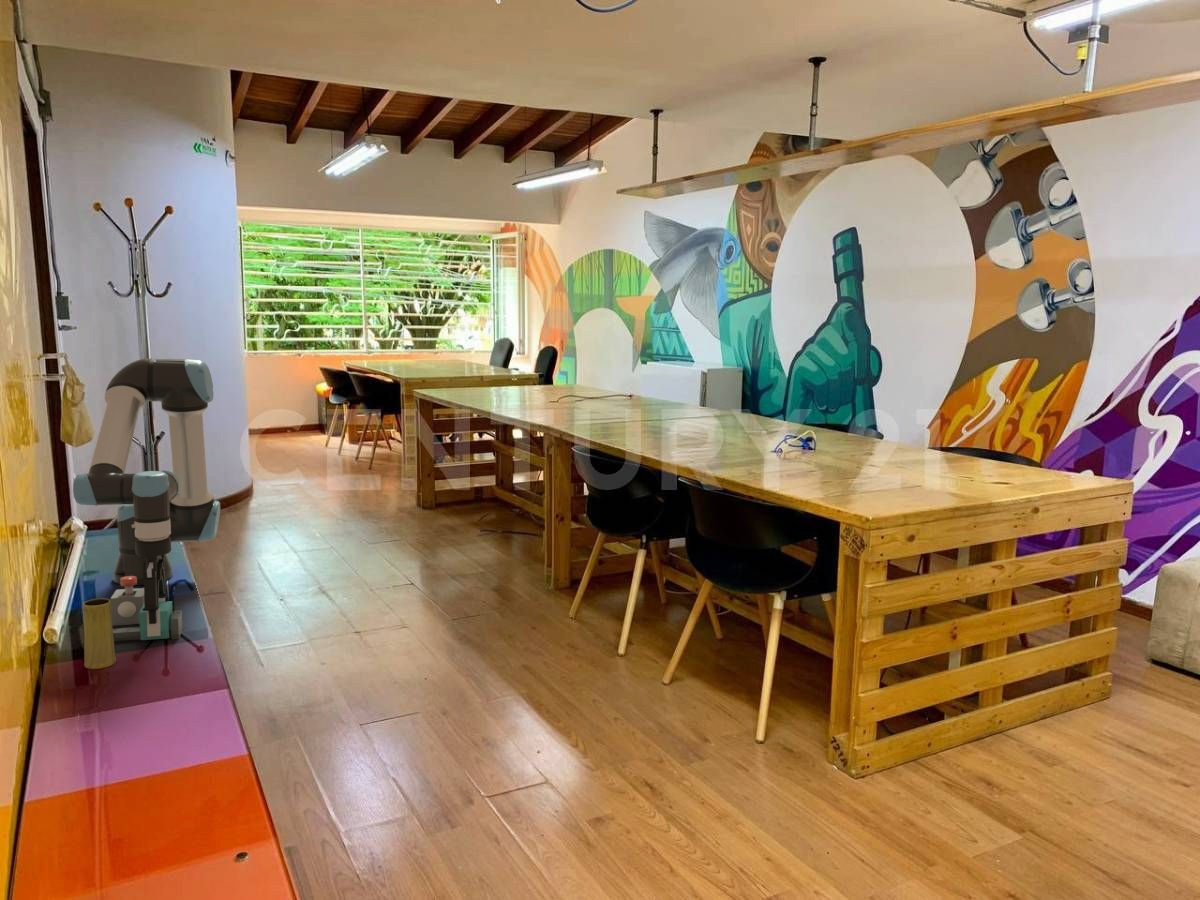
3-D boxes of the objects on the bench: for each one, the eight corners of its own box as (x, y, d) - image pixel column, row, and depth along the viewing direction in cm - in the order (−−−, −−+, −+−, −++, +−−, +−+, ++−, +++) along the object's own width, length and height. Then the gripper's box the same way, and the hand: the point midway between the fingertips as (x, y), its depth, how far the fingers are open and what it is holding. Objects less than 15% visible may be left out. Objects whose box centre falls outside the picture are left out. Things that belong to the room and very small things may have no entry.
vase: (78, 665, 186) (74, 603, 183) (105, 656, 191) (102, 595, 189) (95, 671, 183) (91, 608, 181) (122, 662, 188) (119, 600, 186)
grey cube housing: (117, 616, 215) (116, 589, 214) (148, 614, 218) (147, 587, 217) (111, 626, 209) (110, 598, 208) (143, 623, 211) (142, 596, 210)
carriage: (140, 641, 199) (139, 612, 198) (145, 630, 206) (144, 602, 205) (168, 638, 201) (167, 610, 200) (173, 628, 208) (172, 601, 207)
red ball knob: (122, 596, 214) (121, 576, 213) (138, 595, 215) (137, 575, 214) (119, 600, 210) (118, 580, 209) (136, 599, 211) (135, 579, 211)
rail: (87, 645, 196) (86, 625, 196) (93, 636, 202) (92, 616, 201) (178, 638, 203) (178, 618, 202) (182, 629, 208) (181, 610, 207)
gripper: (142, 527, 208) (146, 616, 212) (126, 549, 189) (131, 646, 193) (176, 526, 210) (180, 614, 214) (163, 547, 192) (167, 643, 195)
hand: (156, 629), depth 203 cm, fingers closed on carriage, 7 cm apart
